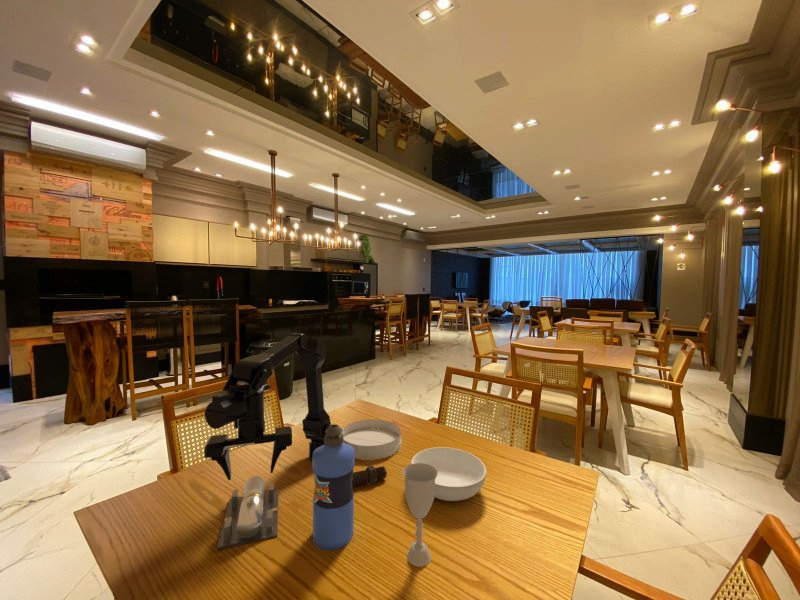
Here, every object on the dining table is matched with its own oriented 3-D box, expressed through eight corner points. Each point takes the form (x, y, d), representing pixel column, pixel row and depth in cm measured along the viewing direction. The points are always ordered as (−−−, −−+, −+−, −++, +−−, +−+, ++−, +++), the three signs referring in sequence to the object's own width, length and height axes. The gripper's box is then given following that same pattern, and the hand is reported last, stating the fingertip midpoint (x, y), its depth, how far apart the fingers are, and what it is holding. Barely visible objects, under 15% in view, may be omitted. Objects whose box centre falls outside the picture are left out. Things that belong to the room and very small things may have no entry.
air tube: (265, 492, 87) (264, 474, 87) (261, 535, 72) (261, 512, 72) (244, 497, 85) (244, 478, 85) (236, 541, 70) (235, 518, 70)
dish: (328, 455, 109) (328, 440, 109) (355, 428, 130) (355, 416, 130) (390, 466, 103) (390, 450, 102) (408, 436, 124) (408, 423, 124)
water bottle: (336, 514, 80) (336, 414, 79) (362, 532, 74) (363, 425, 73) (303, 536, 73) (303, 426, 72) (330, 558, 67) (330, 439, 66)
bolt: (385, 485, 95) (335, 497, 88) (380, 469, 99) (332, 480, 92) (390, 474, 92) (339, 485, 86) (384, 458, 96) (335, 467, 90)
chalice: (436, 545, 70) (437, 464, 70) (436, 572, 64) (438, 482, 63) (403, 542, 71) (403, 462, 71) (400, 568, 64) (400, 480, 64)
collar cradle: (278, 491, 88) (278, 478, 88) (277, 536, 72) (277, 520, 72) (229, 501, 84) (229, 487, 84) (216, 550, 68) (216, 533, 68)
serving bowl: (488, 519, 79) (489, 491, 79) (404, 506, 83) (404, 480, 83) (483, 472, 99) (484, 450, 99) (416, 464, 103) (416, 443, 103)
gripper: (291, 397, 88) (291, 453, 89) (213, 405, 82) (214, 465, 82) (292, 412, 78) (292, 475, 78) (203, 421, 72) (204, 491, 72)
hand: (251, 475), depth 78 cm, fingers open, 9 cm apart
